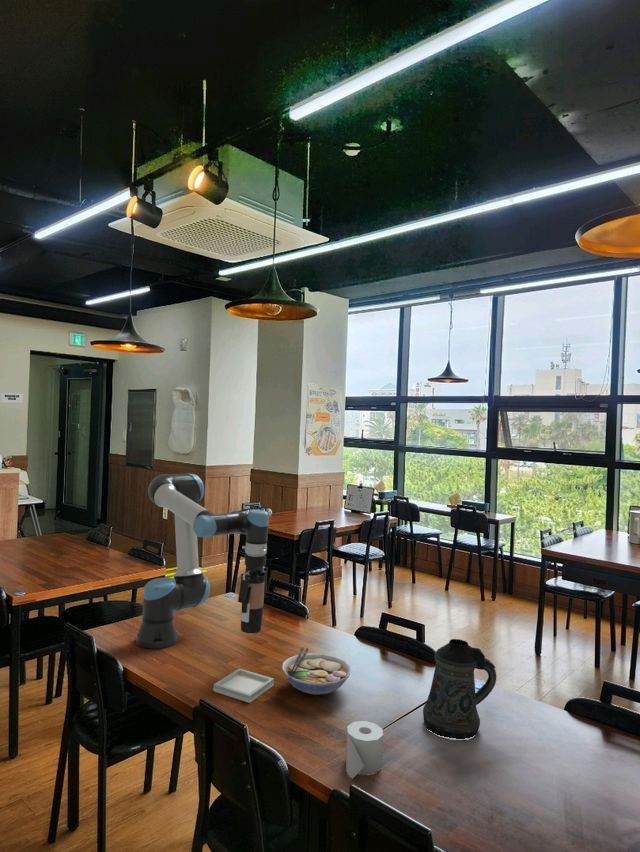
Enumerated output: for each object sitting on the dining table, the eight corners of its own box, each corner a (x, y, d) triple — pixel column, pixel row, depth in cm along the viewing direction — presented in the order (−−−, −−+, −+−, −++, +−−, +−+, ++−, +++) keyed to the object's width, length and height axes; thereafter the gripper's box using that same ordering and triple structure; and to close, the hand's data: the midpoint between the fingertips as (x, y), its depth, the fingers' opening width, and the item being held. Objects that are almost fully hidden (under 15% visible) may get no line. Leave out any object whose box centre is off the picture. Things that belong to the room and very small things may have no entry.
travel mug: (260, 634, 192) (263, 577, 192) (238, 632, 192) (242, 576, 192) (262, 626, 200) (266, 571, 199) (241, 625, 200) (245, 570, 200)
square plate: (213, 691, 175) (213, 684, 175) (238, 674, 188) (239, 668, 188) (249, 703, 169) (250, 695, 169) (273, 685, 181) (274, 678, 181)
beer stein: (412, 715, 167) (416, 633, 167) (465, 707, 173) (469, 628, 174) (442, 746, 151) (447, 655, 151) (500, 735, 158) (504, 648, 158)
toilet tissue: (347, 784, 133) (349, 748, 133) (345, 752, 146) (346, 719, 146) (384, 786, 132) (386, 750, 133) (379, 754, 146) (380, 721, 146)
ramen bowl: (343, 714, 165) (345, 686, 166) (271, 702, 170) (272, 676, 170) (355, 678, 190) (356, 654, 190) (291, 669, 195) (292, 645, 195)
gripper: (248, 561, 185) (243, 629, 185) (279, 550, 203) (275, 612, 203) (230, 557, 188) (225, 624, 188) (262, 547, 207) (258, 608, 207)
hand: (251, 617), depth 196 cm, fingers closed on travel mug, 8 cm apart
